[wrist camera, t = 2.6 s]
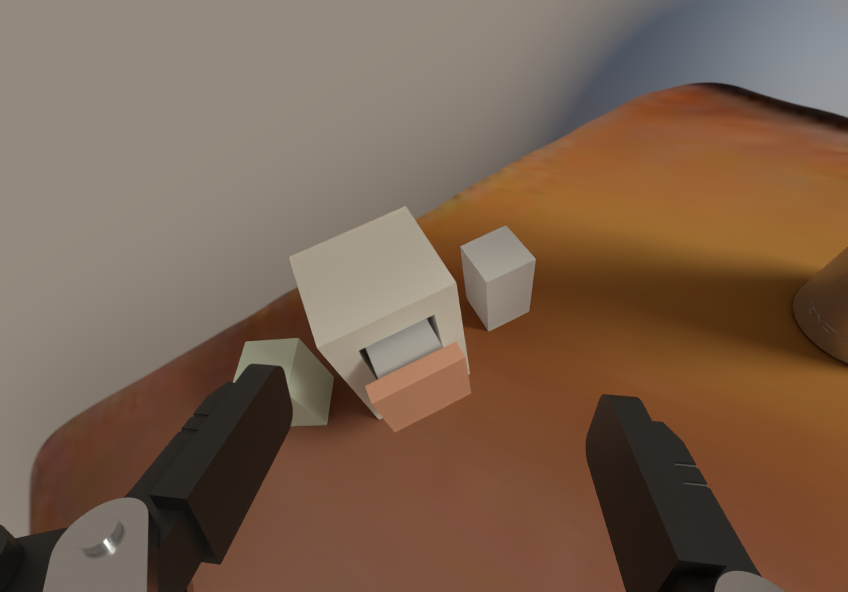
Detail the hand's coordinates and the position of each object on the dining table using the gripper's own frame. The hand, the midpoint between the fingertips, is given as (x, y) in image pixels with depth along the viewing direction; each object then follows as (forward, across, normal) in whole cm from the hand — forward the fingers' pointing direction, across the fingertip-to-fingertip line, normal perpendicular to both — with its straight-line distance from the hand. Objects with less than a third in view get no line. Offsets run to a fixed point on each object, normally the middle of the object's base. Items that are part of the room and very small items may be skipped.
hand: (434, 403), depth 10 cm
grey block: (+26, -4, +13) cm, 29 cm away
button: (+16, +3, +12) cm, 20 cm away
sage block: (+17, +13, +19) cm, 29 cm away
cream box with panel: (+21, +4, +16) cm, 26 cm away
